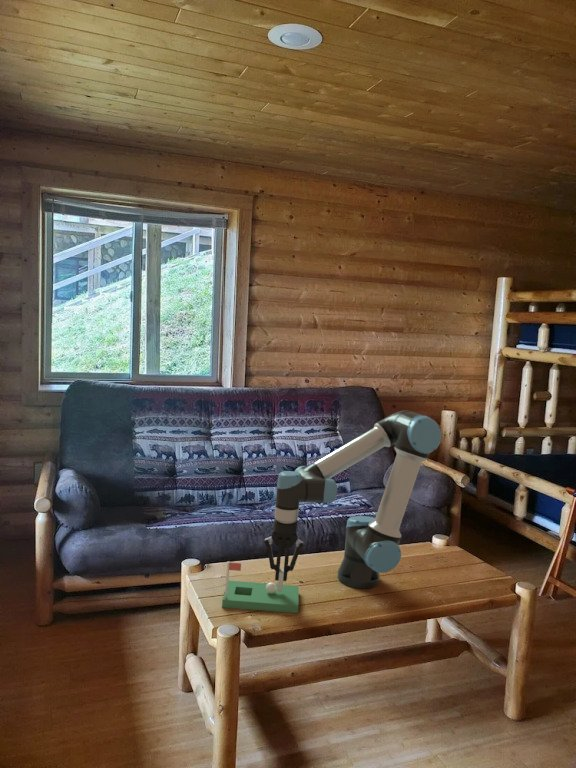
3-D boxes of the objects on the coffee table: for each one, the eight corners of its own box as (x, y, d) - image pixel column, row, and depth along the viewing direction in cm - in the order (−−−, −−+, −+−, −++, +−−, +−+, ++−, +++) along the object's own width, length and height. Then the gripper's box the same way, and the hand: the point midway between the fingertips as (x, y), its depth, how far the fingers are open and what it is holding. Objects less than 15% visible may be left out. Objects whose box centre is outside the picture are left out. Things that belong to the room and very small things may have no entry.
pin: (238, 598, 186) (241, 562, 185) (238, 600, 186) (240, 563, 184) (224, 597, 187) (227, 561, 185) (224, 598, 186) (226, 562, 185)
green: (297, 593, 199) (298, 585, 199) (297, 613, 185) (298, 605, 185) (227, 587, 199) (227, 580, 199) (221, 607, 185) (222, 599, 185)
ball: (277, 580, 193) (266, 580, 193) (276, 585, 190) (265, 585, 190) (276, 590, 194) (265, 590, 194) (276, 596, 190) (265, 595, 190)
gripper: (305, 517, 193) (299, 586, 195) (266, 514, 193) (260, 583, 195) (306, 525, 186) (299, 596, 188) (265, 521, 186) (259, 593, 188)
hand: (279, 589), depth 192 cm, fingers closed
